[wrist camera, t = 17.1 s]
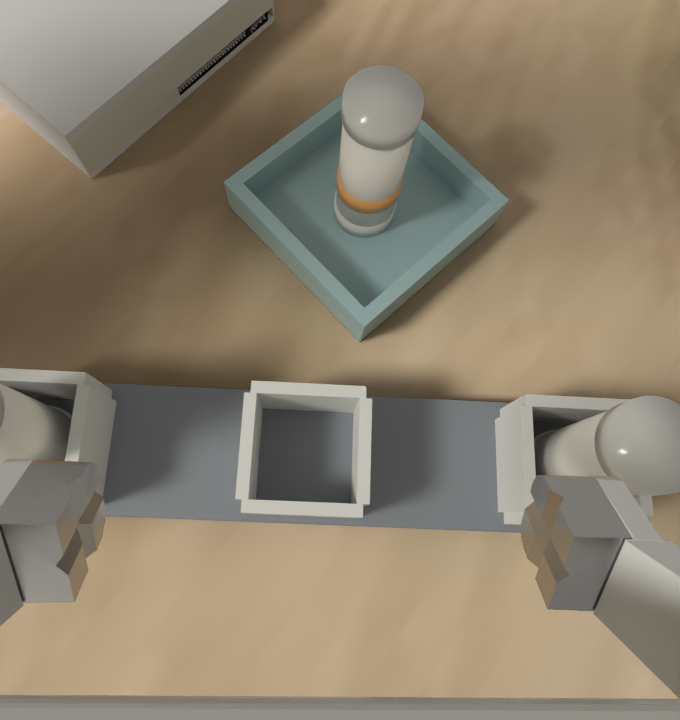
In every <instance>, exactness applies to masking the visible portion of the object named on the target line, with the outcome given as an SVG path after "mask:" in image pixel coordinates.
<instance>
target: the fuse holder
mask: <svg viewBox="0 0 680 720" xmlns="http://www.w3.org/2000/svg"><path fill="white" fill-rule="evenodd" d="M0 384H2V385H4V386H7V387H9V388H11V389H13V390H15V391H18V392H20V393H22V394H24V395H27V396H29V397H31V398H33V399H35V400H38V401H40V402H42V403H44V404H46V405H49V406H54V407H58V408H60V409H62V410H65V411H67V412H69V413H71V414H72V420H71V426H70V432H69V438H68V444H67V450H66V457H65V461H76V462H92V463H94V464H95V465H97V469H98V473H99V478H100V480H99V482H98V485H97V487H96V489H95V491H96V492H97V493H98V494H99V495H101V496H102V497H103V499H104V505H105V516H116V517H141V518H166V519H191V520H216V521H242V522H267V523H292V524H317V525H342V526H367V527H392V528H417V529H443V530H468V531H493V532H518V533H521V522H522V518H523V514H524V510H525V508H526V507H528V506H529V505H530V504H531V503H532V502H534V499H533V497H532V494H531V492H530V490H531V487H532V483H533V481H534V479H535V478H536V471H535V452H534V436H536V435H539V434H541V433H544V432H547V431H550V430H558V429H560V428H563V427H566V426H568V425H571V424H574V423H576V422H579V421H582V420H585V419H587V418H590V417H593V416H595V415H598V414H601V413H604V412H606V411H608V410H609V409H611V408H612V407H614V406H616V405H618V404H621V403H623V402H626V401H629V400H631V399H612V398H592V397H572V396H552V395H532V394H525V395H523V396H522V397H520V398H518V399H517V400H515V401H513V402H511V403H505V402H484V401H464V400H444V399H423V398H403V397H383V396H366V386H352V385H332V384H312V383H292V382H272V381H251V390H240V389H220V388H200V387H180V386H159V385H139V384H119V383H101V382H99V381H98V380H97V379H95V378H94V377H92V376H91V375H89V374H88V373H86V372H71V371H51V370H31V369H11V368H0ZM633 497H634V498H635V500H636V501H637V503H638V504H639V506H640V507H641V509H642V510H643V512H644V513H645V515H646V516H647V518H648V516H654V510H653V501H652V496H640V495H633Z"/></svg>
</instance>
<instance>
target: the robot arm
mask: <svg viewBox="0 0 680 720" xmlns="http://www.w3.org/2000/svg"><path fill="white" fill-rule="evenodd" d="M99 480H100V478H99V473H98V469H97V465H95V464H94V463H92V462H76V461H57V460H27V459H7V460H5V461H3V462H1V463H0V626H1V625H2V624H3V623H4V622H5V621H7V620H8V619H9V618H10V617H11V616H12V615H13V614H14V613H16V612H17V611H18V610H19V609H20V608H21V607H22V606H23V603H36V602H75V600H76V598H77V595H78V593H79V591H80V588H81V586H82V584H83V581H84V579H85V577H86V574H87V572H88V567H87V562H86V558H87V557H88V556H89V555H91V554H92V553H93V552H95V551H96V550H97V548H98V546H99V543H100V541H101V538H102V535H103V529H104V524H105V505H104V499H103V497H102V496H101V495H99V494H98V493H97V492H96V491H95V489H96V487H97V485H98V482H99ZM530 492H531V494H532V497H533V499H534V502H532V503H531V504H530V505H529V506H528V507H526V508H525V510H524V514H523V518H522V522H521V537H522V542H523V547H524V550H525V553H526V555H527V558H528V559H529V560H530V561H531V562H532V563H534V564H535V565H536V566H537V567H538V568H539V569H538V572H537V575H536V578H535V579H536V581H537V584H538V586H539V589H540V591H541V594H542V596H543V599H544V601H545V604H546V606H547V609H554V610H578V611H594V614H595V615H596V616H597V617H598V618H599V619H600V620H601V621H602V622H603V623H604V624H605V625H606V626H607V627H608V628H609V629H610V630H611V631H612V632H613V633H614V634H615V635H616V636H617V637H618V638H619V639H620V640H621V641H622V642H623V643H624V644H625V645H626V646H627V647H628V648H629V649H630V650H631V651H632V652H633V653H634V654H635V655H636V656H637V657H638V658H639V659H640V660H641V661H642V662H643V663H644V664H645V665H646V666H647V667H648V668H649V669H650V670H651V671H652V672H653V673H654V674H655V675H656V676H657V677H658V678H659V679H660V680H661V681H662V682H663V683H664V684H665V685H666V686H667V687H668V688H669V689H670V690H671V691H672V692H673V693H674V694H675V695H676V696H677V697H678V698H679V699H604V698H425V697H269V696H111V695H0V720H680V546H679V545H677V544H676V543H674V542H672V541H671V540H662V538H661V537H660V535H659V534H658V532H657V531H656V529H655V528H654V526H653V525H652V524H651V522H650V521H649V519H648V518H647V516H646V515H645V513H644V512H643V510H642V509H641V507H640V506H639V504H638V503H637V501H636V500H635V498H634V497H633V495H632V494H631V492H630V491H629V489H628V488H627V486H626V485H625V483H624V482H623V481H622V479H620V478H618V477H617V476H589V477H588V476H554V475H537V477H536V478H535V479H534V481H533V483H532V487H531V490H530Z"/></svg>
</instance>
